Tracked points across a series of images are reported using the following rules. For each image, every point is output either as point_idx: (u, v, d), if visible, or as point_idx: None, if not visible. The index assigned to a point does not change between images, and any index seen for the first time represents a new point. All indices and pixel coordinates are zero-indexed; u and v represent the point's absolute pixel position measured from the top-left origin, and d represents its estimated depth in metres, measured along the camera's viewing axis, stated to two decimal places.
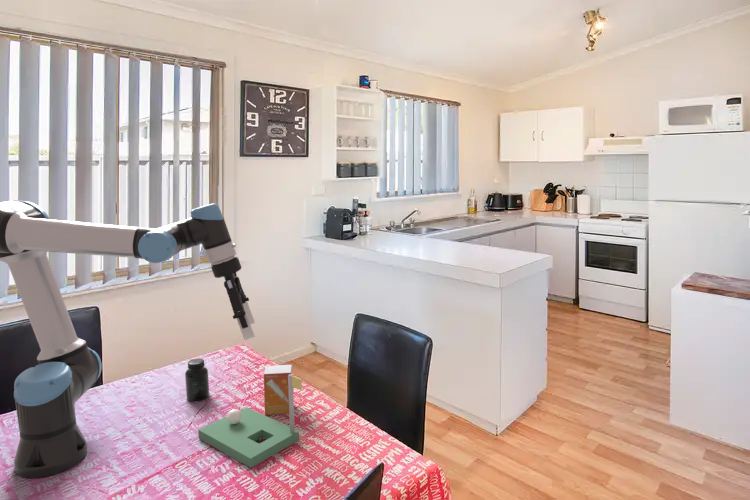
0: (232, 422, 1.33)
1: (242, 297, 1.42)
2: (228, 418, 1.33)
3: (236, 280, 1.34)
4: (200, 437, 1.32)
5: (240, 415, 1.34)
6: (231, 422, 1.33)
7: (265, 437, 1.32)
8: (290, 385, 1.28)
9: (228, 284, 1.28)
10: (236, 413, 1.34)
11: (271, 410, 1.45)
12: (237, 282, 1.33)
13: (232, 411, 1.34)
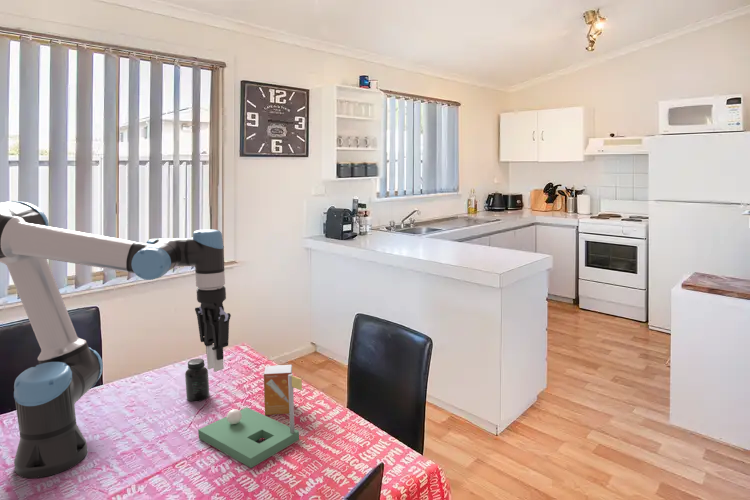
0: (232, 422, 1.33)
1: (212, 335, 1.37)
2: (228, 418, 1.33)
3: None
4: (200, 437, 1.32)
5: (240, 415, 1.34)
6: (231, 422, 1.33)
7: (265, 437, 1.32)
8: (290, 385, 1.28)
9: (225, 318, 1.31)
10: (236, 413, 1.34)
11: (271, 410, 1.45)
12: None
13: (232, 411, 1.34)
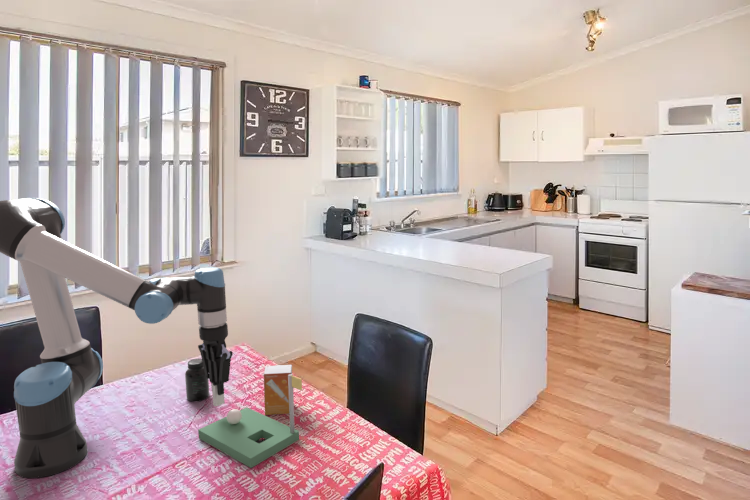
0: (232, 422, 1.33)
1: None
2: (228, 418, 1.33)
3: None
4: (200, 437, 1.32)
5: (240, 415, 1.34)
6: (231, 422, 1.33)
7: (265, 437, 1.32)
8: (290, 385, 1.28)
9: (227, 357, 1.33)
10: (236, 413, 1.34)
11: (271, 410, 1.45)
12: None
13: (232, 411, 1.34)
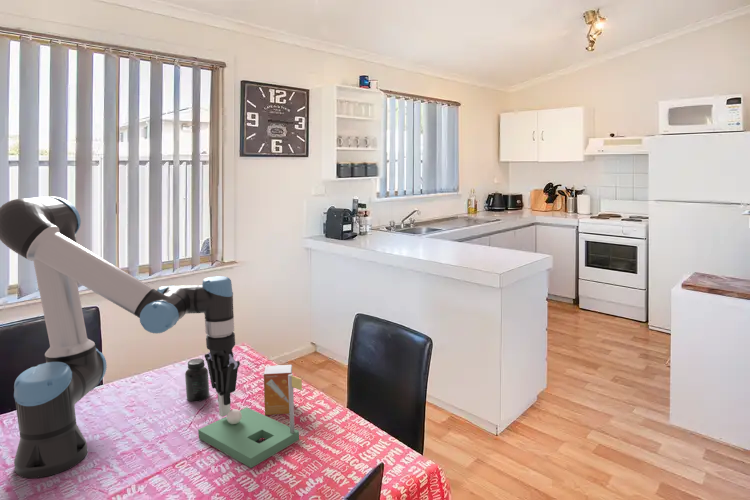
0: (232, 422, 1.33)
1: None
2: (228, 418, 1.33)
3: None
4: (200, 437, 1.32)
5: (240, 415, 1.34)
6: (231, 422, 1.33)
7: (265, 437, 1.32)
8: (290, 385, 1.28)
9: (234, 367, 1.31)
10: (236, 413, 1.34)
11: (271, 410, 1.45)
12: None
13: (232, 411, 1.34)
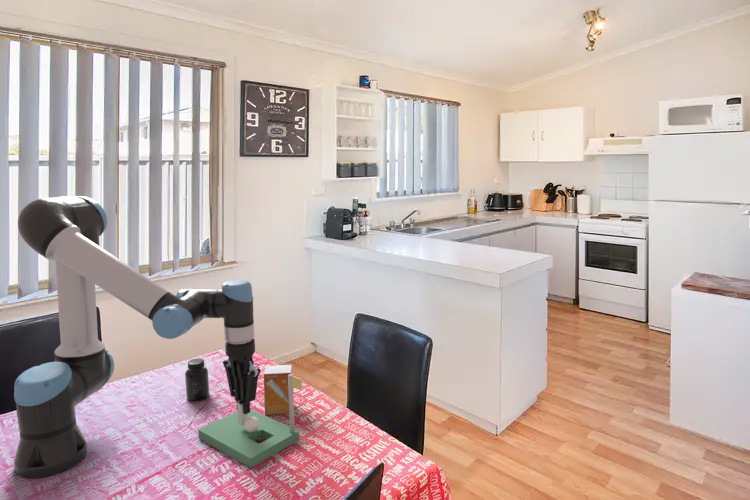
0: (245, 422, 1.30)
1: None
2: (245, 428, 1.29)
3: None
4: (200, 437, 1.32)
5: None
6: (246, 422, 1.29)
7: (265, 437, 1.32)
8: (290, 385, 1.28)
9: (255, 374, 1.26)
10: None
11: (271, 410, 1.45)
12: None
13: None
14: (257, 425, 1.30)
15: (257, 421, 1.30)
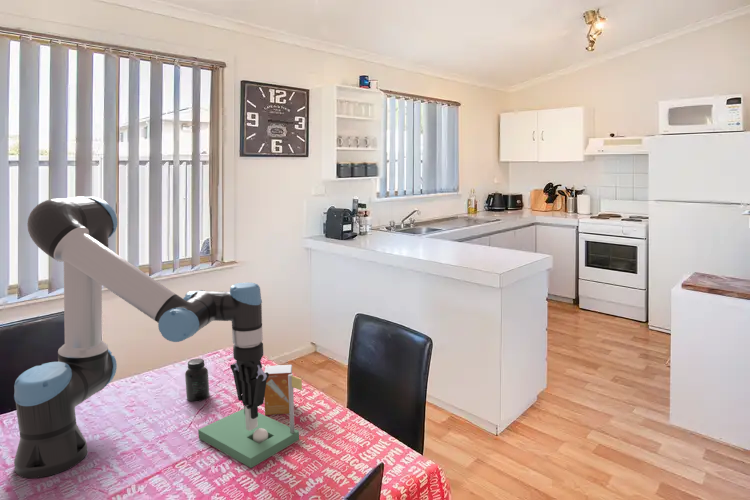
0: (259, 439, 1.27)
1: None
2: (254, 438, 1.28)
3: None
4: (200, 437, 1.32)
5: (265, 430, 1.29)
6: (258, 440, 1.27)
7: None
8: (290, 385, 1.28)
9: (263, 379, 1.24)
10: (259, 429, 1.29)
11: (271, 410, 1.45)
12: None
13: None
14: None
15: None
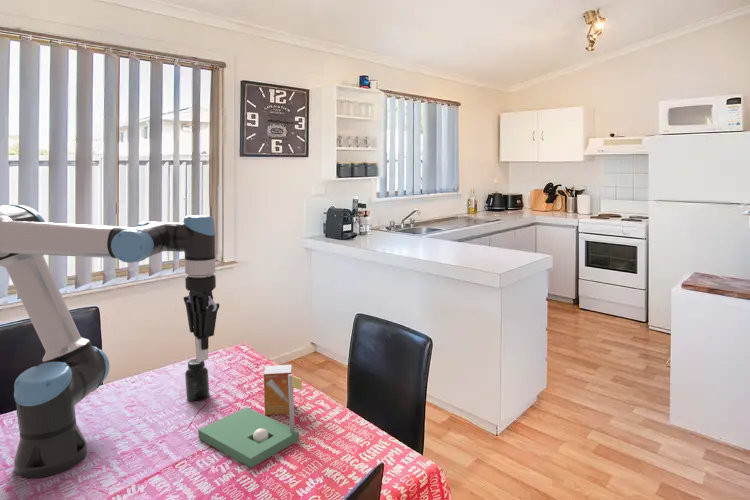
0: (259, 440, 1.27)
1: None
2: (254, 438, 1.28)
3: None
4: (200, 437, 1.32)
5: (265, 431, 1.29)
6: (258, 440, 1.27)
7: None
8: (290, 385, 1.28)
9: (213, 309, 1.27)
10: (259, 430, 1.29)
11: (271, 410, 1.45)
12: None
13: None
14: None
15: None
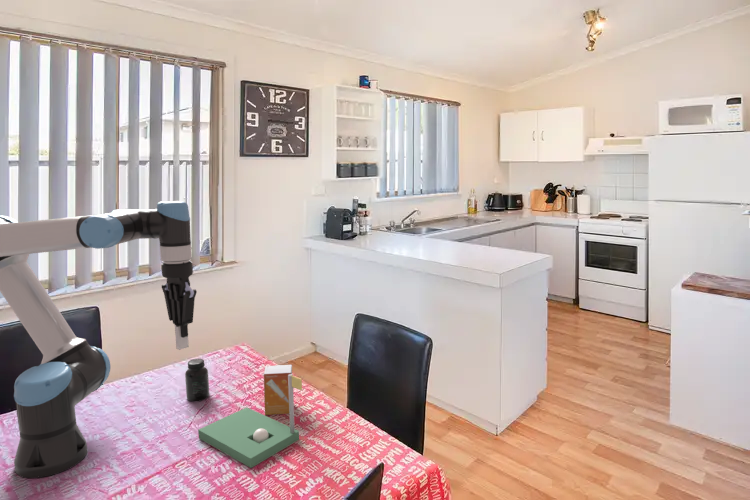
0: (259, 440, 1.27)
1: None
2: (254, 438, 1.28)
3: None
4: (200, 437, 1.32)
5: (265, 431, 1.29)
6: (258, 440, 1.27)
7: None
8: (290, 385, 1.28)
9: (190, 295, 1.25)
10: (260, 430, 1.28)
11: (271, 410, 1.45)
12: None
13: (256, 430, 1.29)
14: None
15: None
